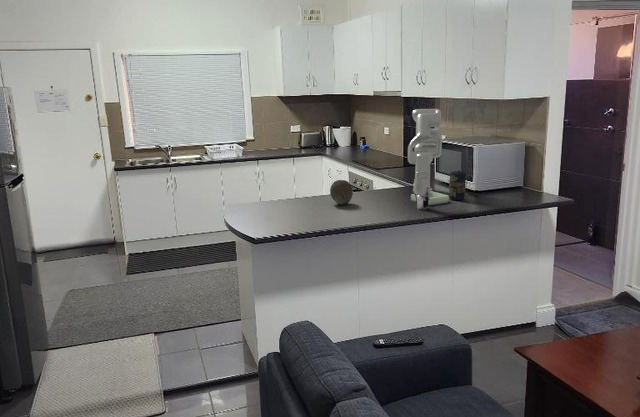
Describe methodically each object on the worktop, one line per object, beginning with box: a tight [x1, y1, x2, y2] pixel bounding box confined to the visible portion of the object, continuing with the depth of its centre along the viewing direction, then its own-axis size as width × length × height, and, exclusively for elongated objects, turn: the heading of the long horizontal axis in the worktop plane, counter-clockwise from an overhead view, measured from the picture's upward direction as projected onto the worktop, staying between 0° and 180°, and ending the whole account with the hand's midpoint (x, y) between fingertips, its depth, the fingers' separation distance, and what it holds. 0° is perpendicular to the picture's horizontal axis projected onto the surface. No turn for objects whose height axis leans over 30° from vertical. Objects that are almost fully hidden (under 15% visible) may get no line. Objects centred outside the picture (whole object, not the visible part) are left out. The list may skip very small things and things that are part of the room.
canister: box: [448, 170, 467, 201], centre depth 317 cm, size 10×10×18 cm
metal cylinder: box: [416, 195, 428, 211], centre depth 299 cm, size 6×6×8 cm
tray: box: [410, 190, 450, 206], centre depth 316 cm, size 16×16×4 cm
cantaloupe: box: [329, 179, 354, 206], centre depth 315 cm, size 14×14×15 cm
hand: (422, 205), depth 299 cm, fingers closed on metal cylinder, 6 cm apart
